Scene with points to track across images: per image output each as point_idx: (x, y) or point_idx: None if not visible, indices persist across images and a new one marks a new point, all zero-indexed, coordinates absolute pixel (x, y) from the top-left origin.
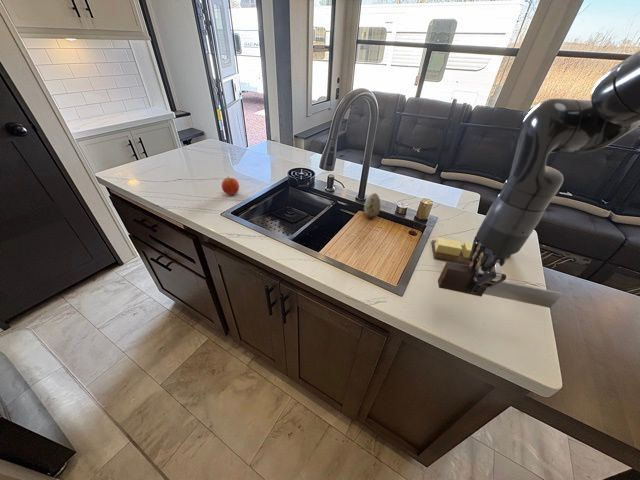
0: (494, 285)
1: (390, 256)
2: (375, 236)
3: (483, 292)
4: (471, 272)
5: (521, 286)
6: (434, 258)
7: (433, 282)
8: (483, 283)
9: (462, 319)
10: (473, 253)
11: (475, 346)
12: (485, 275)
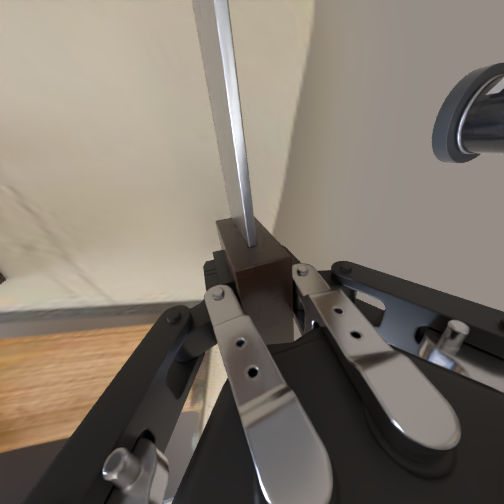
0: (389, 276)
1: (106, 353)
2: (53, 399)
3: (258, 221)
4: (287, 329)
5: (234, 57)
6: (4, 279)
7: (129, 261)
8: (375, 307)
9: (216, 189)
10: (186, 389)
11: (275, 163)
12: (414, 352)
